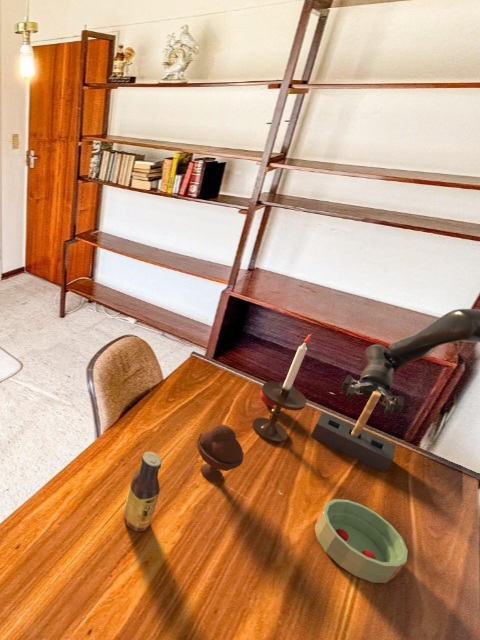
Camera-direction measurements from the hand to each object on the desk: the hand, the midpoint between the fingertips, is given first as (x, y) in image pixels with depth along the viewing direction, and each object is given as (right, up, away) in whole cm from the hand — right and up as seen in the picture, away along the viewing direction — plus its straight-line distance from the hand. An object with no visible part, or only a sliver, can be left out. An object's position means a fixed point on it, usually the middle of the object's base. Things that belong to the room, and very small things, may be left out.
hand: (368, 404), depth 115 cm
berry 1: (-29, -21, -26) cm, 45 cm away
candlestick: (-27, -9, +4) cm, 29 cm away
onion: (-21, -5, +14) cm, 26 cm away
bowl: (-27, -24, -27) cm, 45 cm away
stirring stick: (-6, -12, -1) cm, 14 cm away
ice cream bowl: (-51, -15, -10) cm, 54 cm away
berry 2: (-27, -23, -30) cm, 47 cm away
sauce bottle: (-75, -20, -23) cm, 81 cm away
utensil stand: (-6, -12, -1) cm, 14 cm away
